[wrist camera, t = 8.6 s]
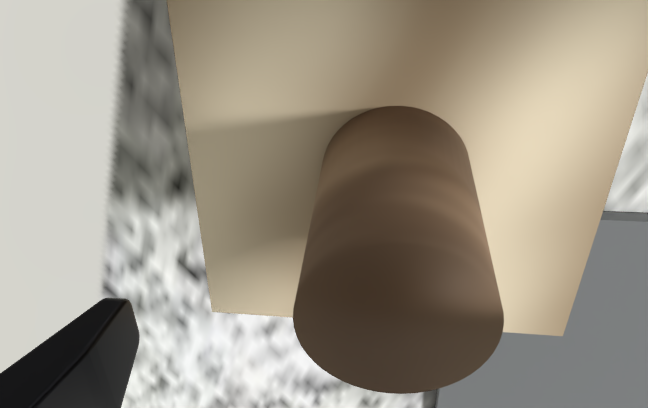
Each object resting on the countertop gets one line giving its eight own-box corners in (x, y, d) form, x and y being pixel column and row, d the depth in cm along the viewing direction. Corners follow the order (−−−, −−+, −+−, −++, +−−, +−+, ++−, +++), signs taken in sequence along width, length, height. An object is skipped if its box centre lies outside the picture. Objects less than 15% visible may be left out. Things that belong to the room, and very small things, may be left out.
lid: (668, -55, 11) (870, 40, 7) (556, 315, 17) (620, 513, 12) (171, -64, 12) (28, 16, 7) (218, 293, 18) (154, 470, 13)
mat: (952, 224, 22) (966, 233, 21) (762, 493, 32) (767, 504, 31) (461, 206, 23) (463, 214, 23) (427, 467, 33) (427, 477, 33)
